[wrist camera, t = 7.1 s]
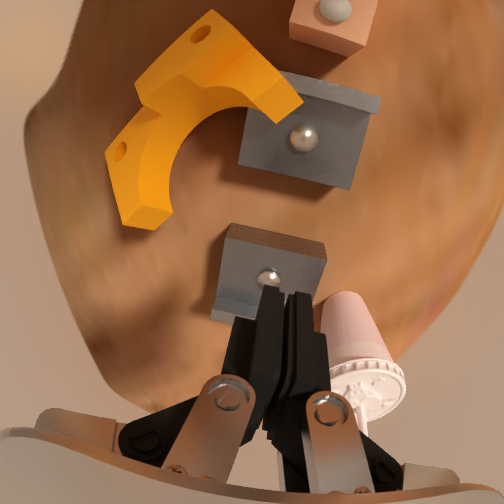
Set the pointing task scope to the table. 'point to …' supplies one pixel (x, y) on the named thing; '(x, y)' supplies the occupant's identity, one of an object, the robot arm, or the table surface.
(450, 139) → the table surface
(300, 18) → the peach two-stud bar
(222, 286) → the book ends
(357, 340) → the pink drink cup
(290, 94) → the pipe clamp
